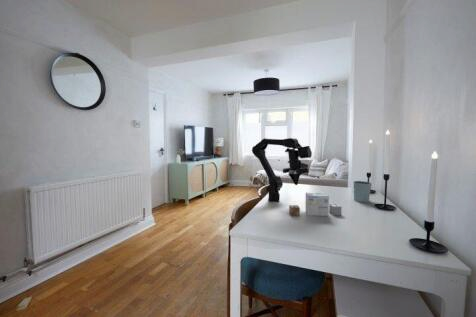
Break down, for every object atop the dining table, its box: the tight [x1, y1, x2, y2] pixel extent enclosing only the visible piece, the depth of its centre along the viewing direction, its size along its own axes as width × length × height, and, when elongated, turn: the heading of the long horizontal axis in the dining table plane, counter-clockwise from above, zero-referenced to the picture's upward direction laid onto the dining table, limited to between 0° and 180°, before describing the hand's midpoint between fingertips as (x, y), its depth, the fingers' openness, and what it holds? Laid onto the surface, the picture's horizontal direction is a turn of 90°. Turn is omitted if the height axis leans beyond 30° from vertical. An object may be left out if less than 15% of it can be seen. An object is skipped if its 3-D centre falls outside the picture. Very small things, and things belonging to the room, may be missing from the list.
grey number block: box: [329, 203, 342, 216], centre depth 114 cm, size 4×4×5 cm
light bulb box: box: [305, 192, 330, 217], centre depth 114 cm, size 11×7×11 cm, turn 84°
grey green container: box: [353, 180, 373, 203], centre depth 139 cm, size 10×10×12 cm
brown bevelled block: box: [288, 204, 301, 217], centre depth 113 cm, size 4×4×5 cm
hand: (296, 184), depth 129 cm, fingers closed
